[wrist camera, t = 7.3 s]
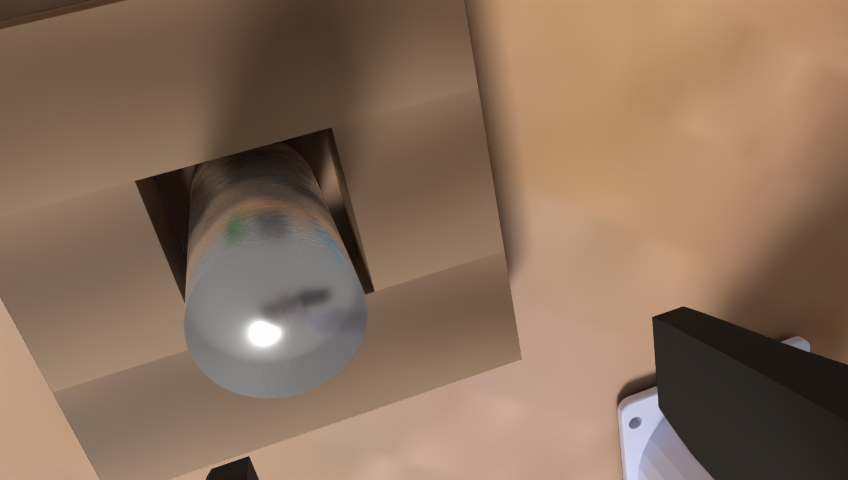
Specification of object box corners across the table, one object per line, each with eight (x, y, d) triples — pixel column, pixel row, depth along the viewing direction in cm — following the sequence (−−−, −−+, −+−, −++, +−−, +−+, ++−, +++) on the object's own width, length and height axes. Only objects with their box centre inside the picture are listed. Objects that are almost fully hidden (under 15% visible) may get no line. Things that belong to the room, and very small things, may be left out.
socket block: (491, 317, 23) (521, 359, 21) (120, 439, 21) (110, 498, 19) (421, -76, 18) (452, -76, 16) (-84, 40, 16) (-130, 59, 14)
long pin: (328, 236, 21) (381, 370, 15) (209, 265, 20) (211, 419, 14) (303, 123, 19) (350, 220, 13) (174, 150, 19) (159, 266, 12)
